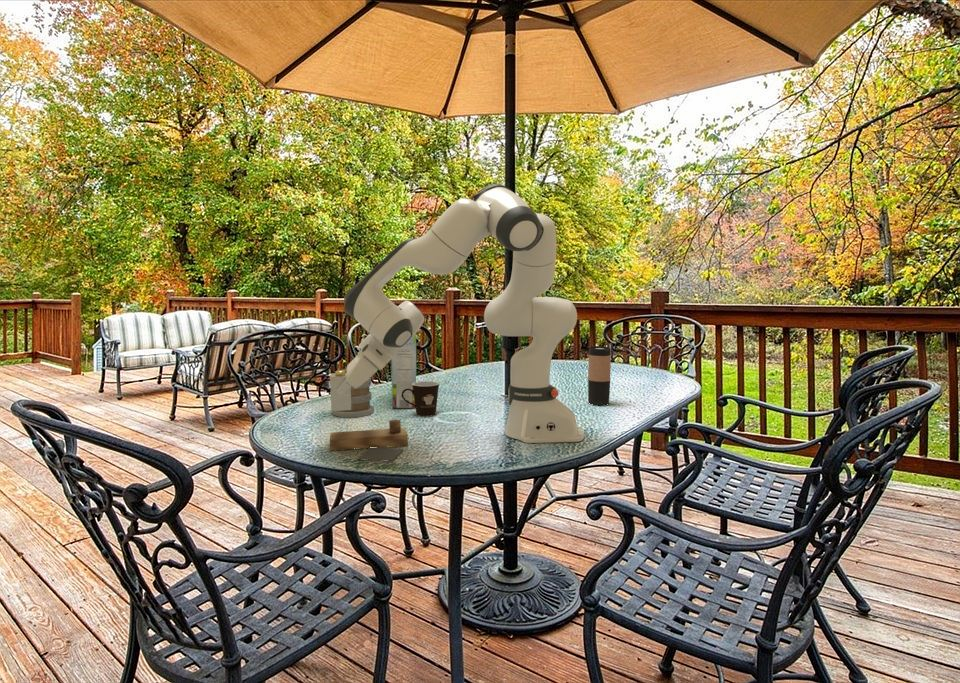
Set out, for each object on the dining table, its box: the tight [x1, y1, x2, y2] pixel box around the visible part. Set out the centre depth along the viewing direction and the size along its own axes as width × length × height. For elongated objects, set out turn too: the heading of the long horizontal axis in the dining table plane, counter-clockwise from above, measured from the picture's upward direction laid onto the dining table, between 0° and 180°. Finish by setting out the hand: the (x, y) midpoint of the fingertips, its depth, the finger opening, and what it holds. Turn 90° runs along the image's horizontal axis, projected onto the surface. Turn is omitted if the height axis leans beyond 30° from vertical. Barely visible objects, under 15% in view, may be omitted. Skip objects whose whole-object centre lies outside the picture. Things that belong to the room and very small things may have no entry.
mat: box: [357, 447, 404, 462], centre depth 141 cm, size 9×9×1 cm
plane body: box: [329, 419, 409, 451], centre depth 149 cm, size 20×7×6 cm, turn 103°
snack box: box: [391, 333, 417, 409], centre depth 199 cm, size 22×9×26 cm, turn 9°
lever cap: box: [329, 369, 351, 412], centre depth 147 cm, size 5×5×10 cm
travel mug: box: [587, 345, 612, 406], centre depth 196 cm, size 8×8×20 cm
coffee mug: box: [402, 380, 440, 417], centre depth 183 cm, size 12×9×10 cm
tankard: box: [331, 369, 375, 419], centre depth 187 cm, size 20×13×15 cm, turn 179°
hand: (338, 390), depth 147 cm, fingers closed on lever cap, 5 cm apart
